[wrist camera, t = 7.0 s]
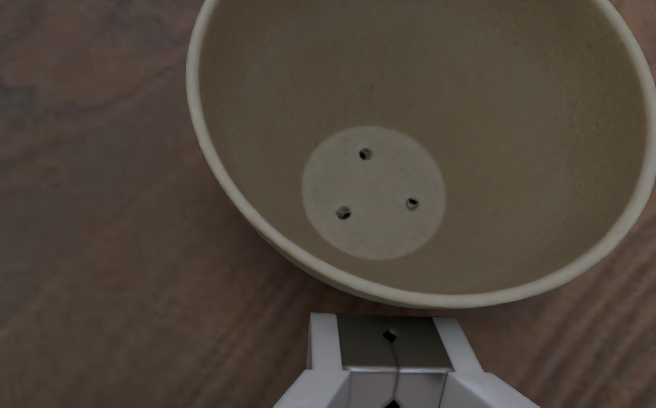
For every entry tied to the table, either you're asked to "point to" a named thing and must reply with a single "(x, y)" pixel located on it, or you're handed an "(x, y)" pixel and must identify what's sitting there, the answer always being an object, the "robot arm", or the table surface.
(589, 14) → the flower pot
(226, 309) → the table surface
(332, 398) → the robot arm
